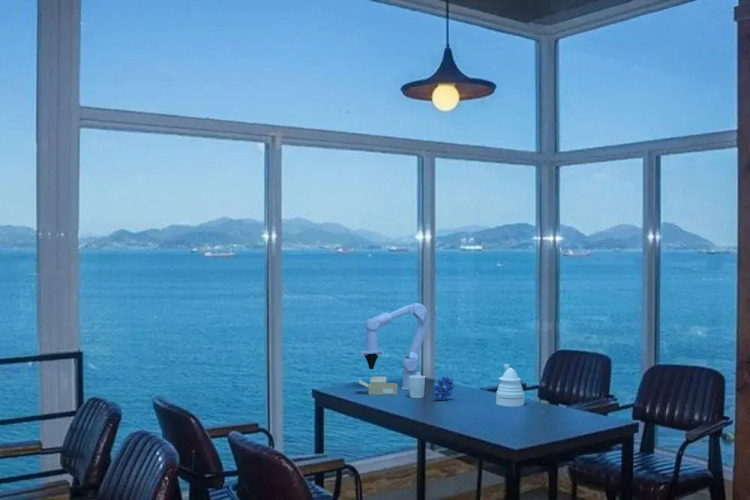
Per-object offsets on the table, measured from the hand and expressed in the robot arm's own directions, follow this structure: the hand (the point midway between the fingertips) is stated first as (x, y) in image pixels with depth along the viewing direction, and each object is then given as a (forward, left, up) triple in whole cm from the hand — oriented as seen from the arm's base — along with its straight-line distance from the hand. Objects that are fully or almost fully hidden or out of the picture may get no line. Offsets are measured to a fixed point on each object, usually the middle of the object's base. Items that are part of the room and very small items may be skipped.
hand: (371, 368), depth 393 cm
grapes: (-35, +27, -11) cm, 45 cm away
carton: (-6, +9, -10) cm, 15 cm away
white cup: (-23, +20, -11) cm, 32 cm away
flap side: (-4, +2, -7) cm, 8 cm away
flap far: (+1, +11, -7) cm, 13 cm away
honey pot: (-66, +34, -11) cm, 74 cm away
